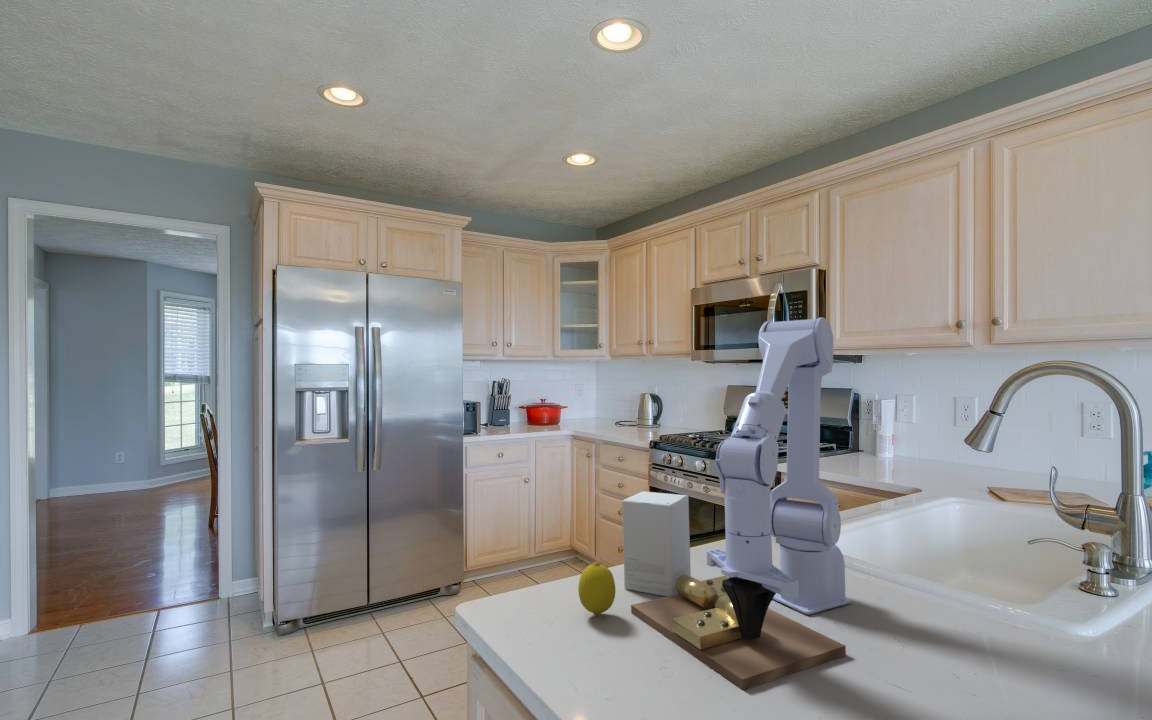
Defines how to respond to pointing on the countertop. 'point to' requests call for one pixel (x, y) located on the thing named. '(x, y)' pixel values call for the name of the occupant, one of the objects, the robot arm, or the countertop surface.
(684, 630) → the plate
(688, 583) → the fixed leaf
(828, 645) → the walnut board
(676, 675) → the countertop surface
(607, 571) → the lemon
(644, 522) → the supplement box
